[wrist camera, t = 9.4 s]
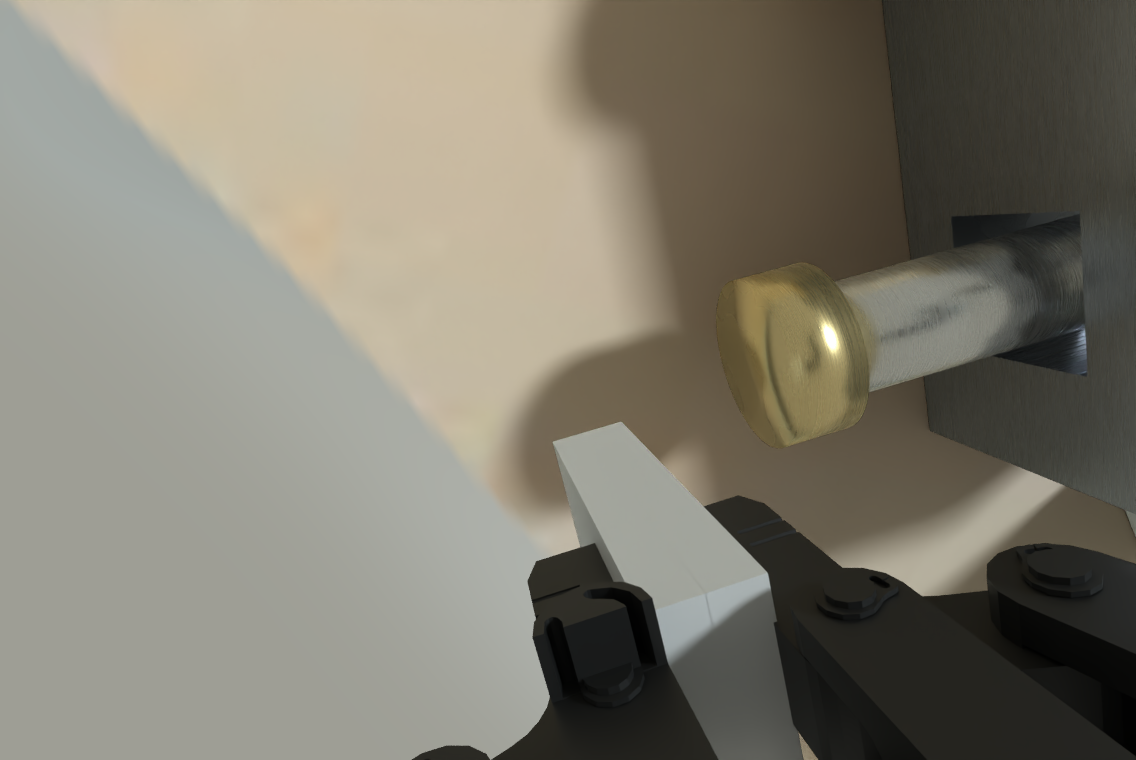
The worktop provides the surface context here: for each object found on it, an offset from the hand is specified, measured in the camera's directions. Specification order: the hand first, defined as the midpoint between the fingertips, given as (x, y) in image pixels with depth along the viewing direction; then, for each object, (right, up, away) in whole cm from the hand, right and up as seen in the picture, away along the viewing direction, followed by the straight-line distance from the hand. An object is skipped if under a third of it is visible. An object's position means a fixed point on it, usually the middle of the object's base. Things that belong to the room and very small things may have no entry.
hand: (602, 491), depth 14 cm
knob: (+10, +5, +8) cm, 14 cm away
